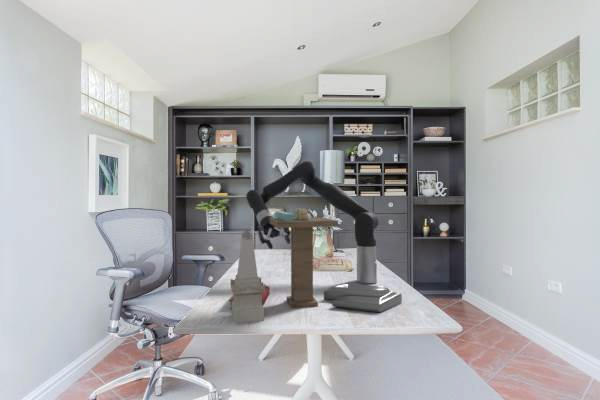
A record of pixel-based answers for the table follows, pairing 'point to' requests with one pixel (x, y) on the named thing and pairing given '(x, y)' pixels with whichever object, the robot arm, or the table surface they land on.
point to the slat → (284, 216)
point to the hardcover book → (264, 296)
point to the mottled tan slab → (332, 264)
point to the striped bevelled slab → (362, 297)
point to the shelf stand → (302, 255)
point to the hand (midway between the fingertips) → (280, 245)
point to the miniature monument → (247, 285)
